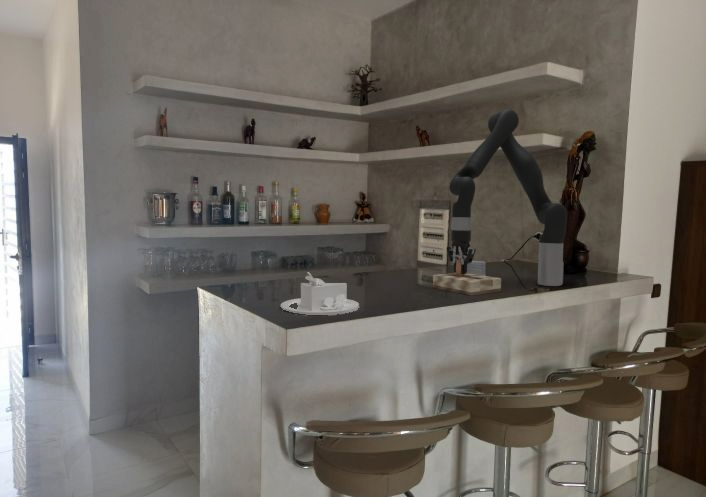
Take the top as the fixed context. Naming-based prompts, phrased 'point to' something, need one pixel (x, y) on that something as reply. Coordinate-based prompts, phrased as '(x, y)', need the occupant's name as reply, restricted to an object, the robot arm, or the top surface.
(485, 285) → the beige flat block
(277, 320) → the top surface
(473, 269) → the medicine box
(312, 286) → the dish
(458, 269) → the peg
